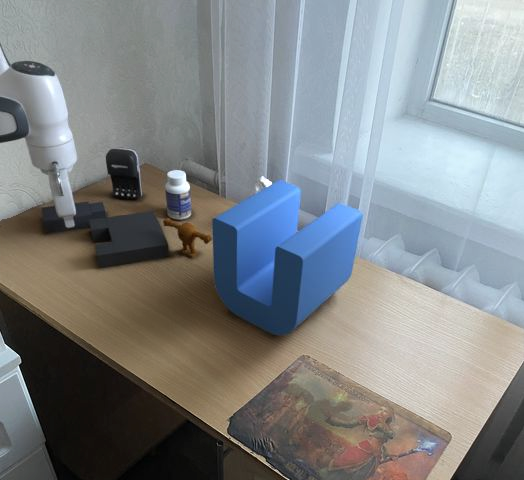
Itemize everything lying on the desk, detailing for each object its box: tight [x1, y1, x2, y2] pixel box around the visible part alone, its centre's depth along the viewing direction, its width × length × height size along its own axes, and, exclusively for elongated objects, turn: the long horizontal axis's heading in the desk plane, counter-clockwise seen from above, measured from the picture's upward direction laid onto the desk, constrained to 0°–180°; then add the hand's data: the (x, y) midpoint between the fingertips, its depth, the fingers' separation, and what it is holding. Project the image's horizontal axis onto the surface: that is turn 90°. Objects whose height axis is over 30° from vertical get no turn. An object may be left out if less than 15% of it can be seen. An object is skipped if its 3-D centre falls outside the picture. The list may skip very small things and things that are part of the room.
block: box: [211, 179, 364, 336], centre depth 95 cm, size 18×18×18 cm
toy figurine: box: [162, 217, 213, 258], centre depth 108 cm, size 12×4×7 cm, turn 56°
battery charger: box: [105, 146, 143, 201], centre depth 123 cm, size 7×4×11 cm, turn 82°
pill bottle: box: [164, 169, 192, 221], centre depth 119 cm, size 5×5×10 cm
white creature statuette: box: [252, 175, 273, 195], centre depth 115 cm, size 10×9×12 cm
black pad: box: [88, 210, 170, 269], centre depth 111 cm, size 14×14×3 cm
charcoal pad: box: [40, 200, 108, 234], centre depth 117 cm, size 13×6×3 cm, turn 110°
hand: (68, 214), depth 116 cm, fingers open, 8 cm apart
